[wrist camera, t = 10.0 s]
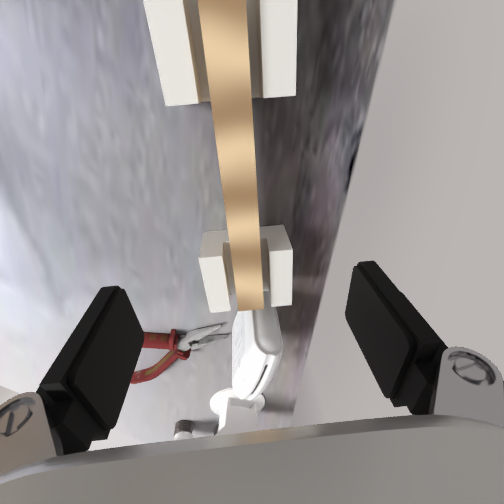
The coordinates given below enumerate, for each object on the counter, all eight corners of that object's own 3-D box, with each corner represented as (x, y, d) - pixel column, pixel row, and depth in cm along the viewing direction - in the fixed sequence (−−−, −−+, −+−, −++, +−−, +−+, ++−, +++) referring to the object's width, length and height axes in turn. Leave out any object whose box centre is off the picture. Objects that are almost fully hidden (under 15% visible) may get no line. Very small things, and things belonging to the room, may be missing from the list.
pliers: (237, 346, 45) (238, 359, 43) (135, 374, 48) (130, 388, 45) (210, 300, 39) (209, 312, 37) (95, 335, 42) (87, 349, 39)
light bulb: (164, 419, 56) (151, 486, 46) (195, 414, 55) (187, 480, 46) (175, 433, 59) (164, 498, 50) (204, 429, 59) (199, 493, 50)
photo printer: (254, 333, 43) (261, 411, 32) (229, 328, 42) (228, 408, 32) (276, 286, 38) (292, 361, 27) (248, 280, 37) (254, 356, 26)
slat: (200, -7, 19) (193, -28, 15) (241, -10, 19) (243, -32, 15) (238, 289, 34) (238, 311, 30) (261, 287, 34) (264, 309, 30)
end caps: (157, -13, 21) (133, -47, 16) (282, -22, 21) (298, -59, 16) (213, 281, 37) (210, 312, 32) (283, 275, 37) (291, 304, 32)
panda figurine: (199, 410, 55) (188, 508, 42) (219, 381, 49) (215, 481, 37) (250, 419, 58) (254, 512, 45) (274, 393, 53) (287, 489, 40)
